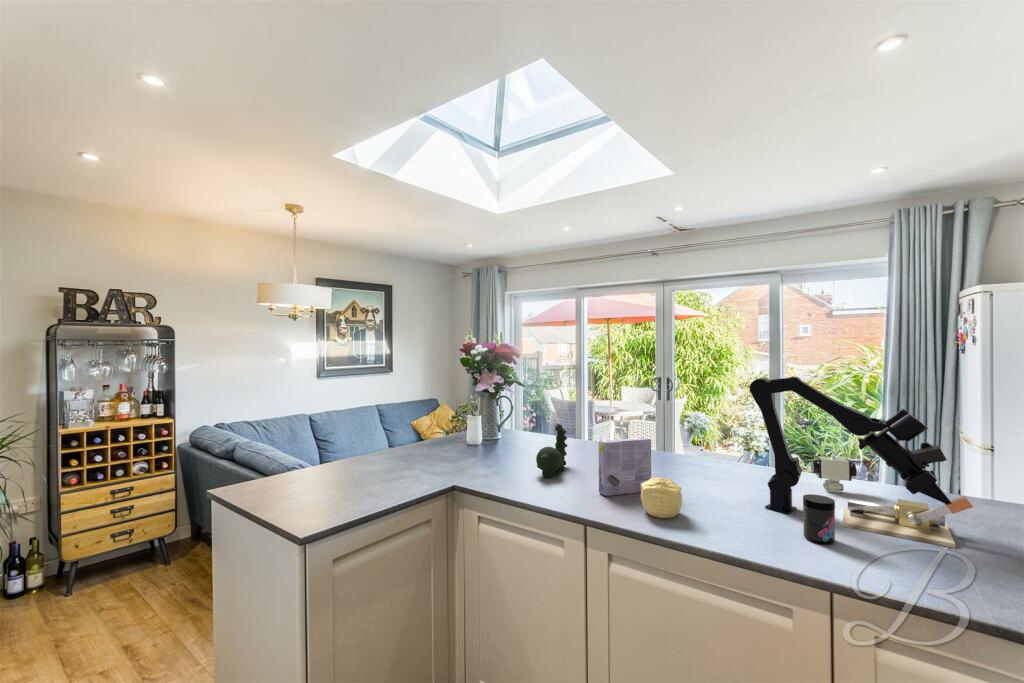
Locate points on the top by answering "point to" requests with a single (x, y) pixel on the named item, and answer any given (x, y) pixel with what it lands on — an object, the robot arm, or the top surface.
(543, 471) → the toy figurine
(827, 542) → the supplement container
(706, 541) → the top surface
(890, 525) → the mounting board
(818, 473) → the pneumatic valve
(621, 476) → the cake pan box
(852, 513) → the valve pipe
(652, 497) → the sculpture
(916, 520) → the valve lever
